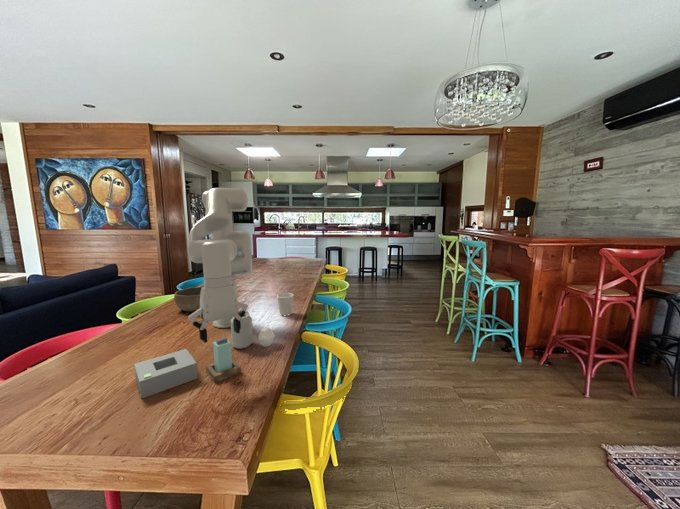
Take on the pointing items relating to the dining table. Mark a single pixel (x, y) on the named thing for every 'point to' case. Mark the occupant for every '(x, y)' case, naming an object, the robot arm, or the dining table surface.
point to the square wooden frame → (223, 372)
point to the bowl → (188, 299)
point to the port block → (165, 372)
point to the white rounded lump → (266, 337)
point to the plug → (222, 355)
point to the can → (242, 333)
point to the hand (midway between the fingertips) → (221, 336)
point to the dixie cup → (285, 303)
